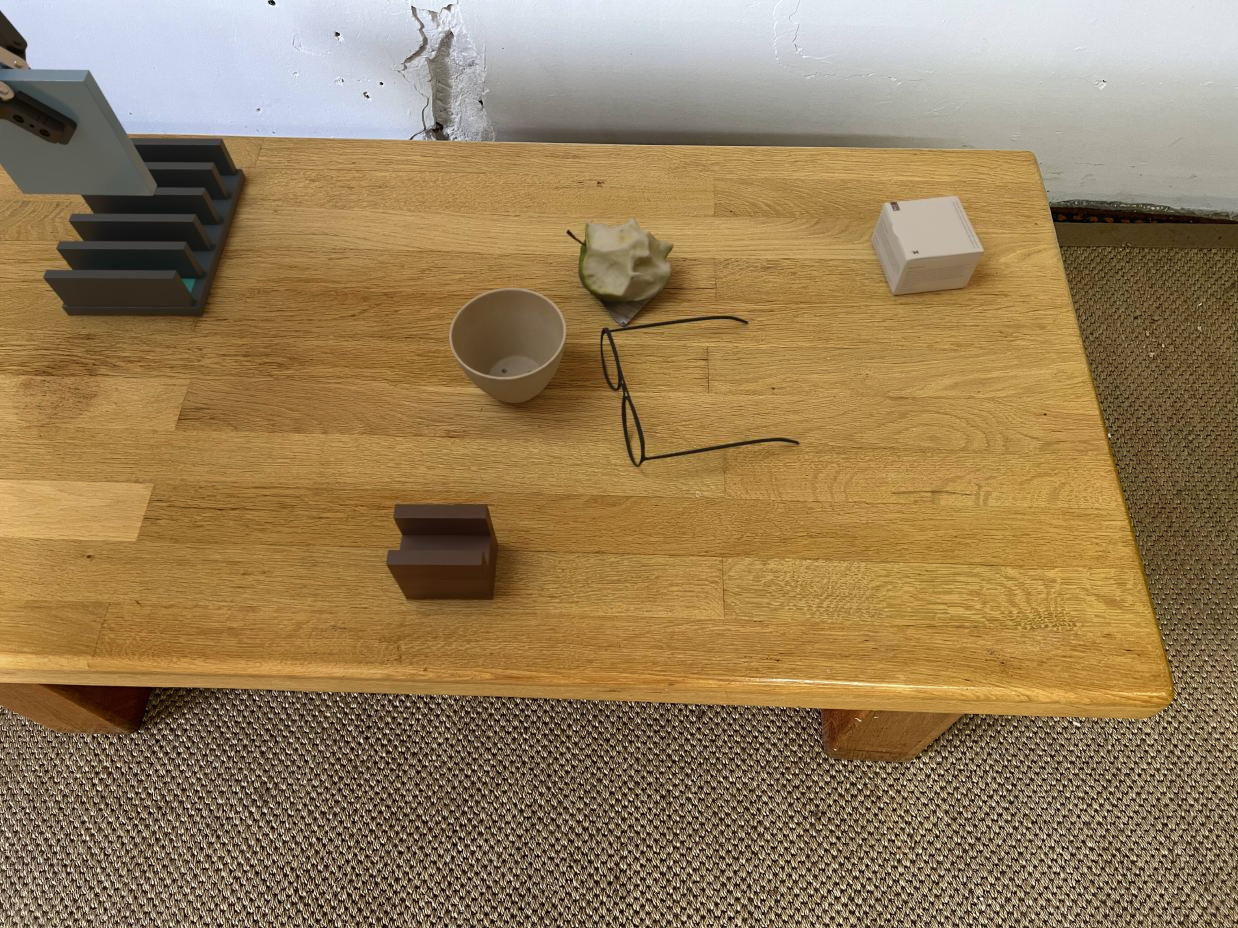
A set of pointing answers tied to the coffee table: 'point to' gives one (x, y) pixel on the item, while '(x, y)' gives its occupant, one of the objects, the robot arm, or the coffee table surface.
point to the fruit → (622, 267)
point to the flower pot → (509, 342)
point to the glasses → (623, 409)
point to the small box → (926, 245)
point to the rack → (153, 235)
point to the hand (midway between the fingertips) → (75, 126)
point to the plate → (93, 153)
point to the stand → (444, 552)
